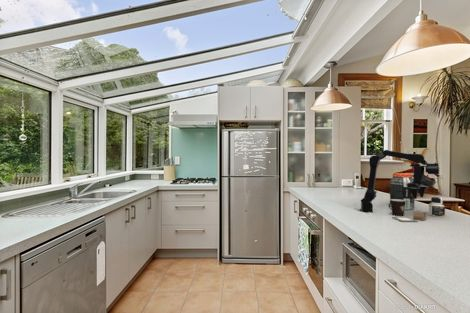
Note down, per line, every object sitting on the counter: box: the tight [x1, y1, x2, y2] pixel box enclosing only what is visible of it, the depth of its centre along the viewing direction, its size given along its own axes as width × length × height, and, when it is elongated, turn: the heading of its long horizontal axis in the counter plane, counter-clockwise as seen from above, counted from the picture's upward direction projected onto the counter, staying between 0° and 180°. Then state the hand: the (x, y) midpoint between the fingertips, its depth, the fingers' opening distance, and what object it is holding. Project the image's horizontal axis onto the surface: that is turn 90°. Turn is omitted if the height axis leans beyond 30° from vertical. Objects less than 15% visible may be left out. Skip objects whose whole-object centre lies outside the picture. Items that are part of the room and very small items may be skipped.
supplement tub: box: [389, 172, 416, 211], centre depth 200 cm, size 16×16×26 cm
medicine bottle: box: [428, 196, 446, 218], centre depth 177 cm, size 7×7×12 cm
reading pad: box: [391, 216, 419, 223], centre depth 165 cm, size 10×10×1 cm
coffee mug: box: [388, 199, 406, 217], centre depth 178 cm, size 12×9×10 cm
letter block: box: [412, 210, 427, 222], centre depth 165 cm, size 5×5×5 cm
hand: (418, 198), depth 170 cm, fingers open, 9 cm apart
